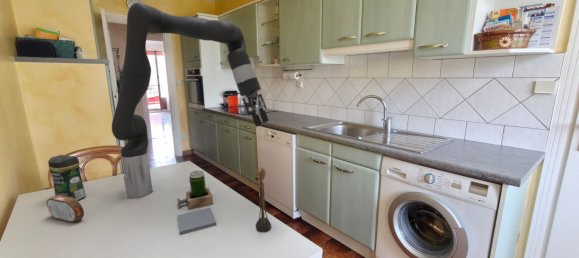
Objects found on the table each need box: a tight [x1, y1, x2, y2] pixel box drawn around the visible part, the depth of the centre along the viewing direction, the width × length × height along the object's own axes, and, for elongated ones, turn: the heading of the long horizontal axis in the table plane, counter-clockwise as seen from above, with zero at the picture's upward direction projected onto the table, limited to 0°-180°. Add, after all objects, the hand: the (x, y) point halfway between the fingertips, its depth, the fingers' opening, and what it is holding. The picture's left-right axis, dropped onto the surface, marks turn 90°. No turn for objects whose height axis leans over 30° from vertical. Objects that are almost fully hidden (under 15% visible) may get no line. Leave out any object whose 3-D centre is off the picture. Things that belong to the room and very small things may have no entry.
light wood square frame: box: [176, 186, 214, 211], centre depth 100 cm, size 12×9×4 cm
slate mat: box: [176, 207, 217, 235], centre depth 87 cm, size 11×11×1 cm
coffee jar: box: [47, 154, 87, 202], centre depth 105 cm, size 10×8×19 cm
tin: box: [46, 194, 85, 223], centre depth 90 cm, size 15×3×8 cm, turn 71°
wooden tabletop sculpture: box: [254, 167, 272, 233], centre depth 80 cm, size 6×5×20 cm
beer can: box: [188, 170, 207, 199], centre depth 100 cm, size 5×5×12 cm
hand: (262, 123), depth 92 cm, fingers open, 8 cm apart
